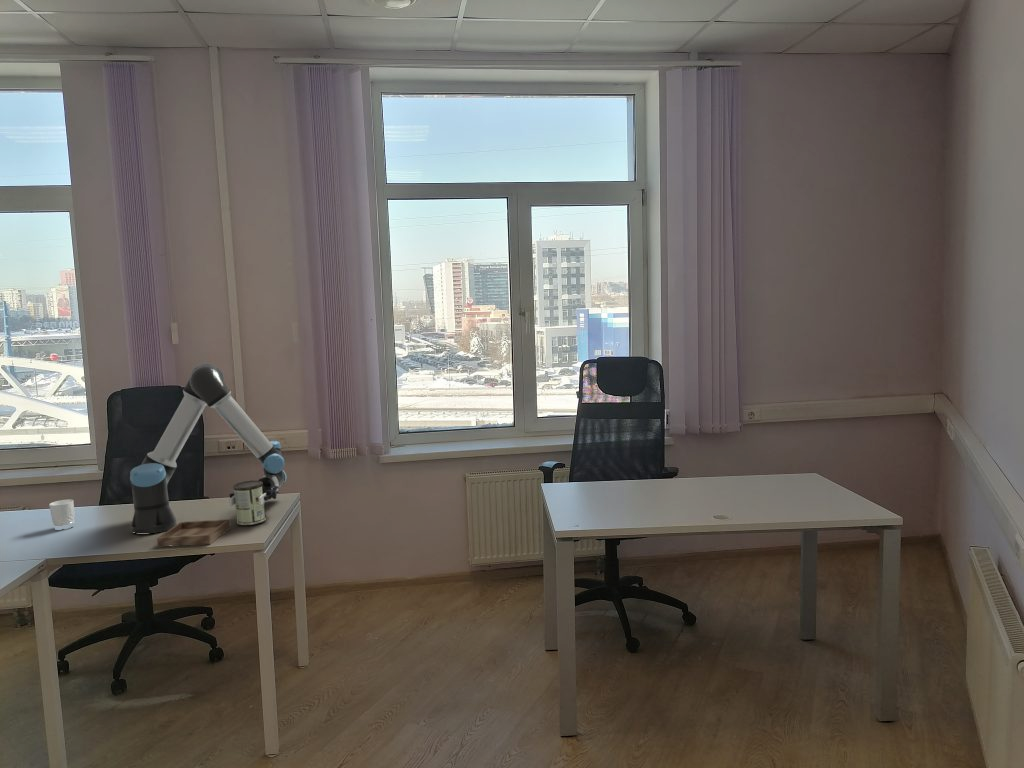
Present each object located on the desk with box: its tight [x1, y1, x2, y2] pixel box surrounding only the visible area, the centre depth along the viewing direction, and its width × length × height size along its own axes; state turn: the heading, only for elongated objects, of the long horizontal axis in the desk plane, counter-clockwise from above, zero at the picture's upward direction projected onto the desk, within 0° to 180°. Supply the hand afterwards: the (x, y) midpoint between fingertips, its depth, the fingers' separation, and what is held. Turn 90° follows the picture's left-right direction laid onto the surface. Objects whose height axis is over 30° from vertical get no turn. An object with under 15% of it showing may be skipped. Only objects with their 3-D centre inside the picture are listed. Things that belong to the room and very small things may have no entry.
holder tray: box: [156, 519, 231, 547], centre depth 267 cm, size 18×18×3 cm
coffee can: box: [232, 480, 267, 526], centre depth 279 cm, size 10×10×14 cm
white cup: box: [48, 499, 76, 526], centre depth 287 cm, size 8×8×10 cm
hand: (245, 502), depth 275 cm, fingers closed on coffee can, 10 cm apart
